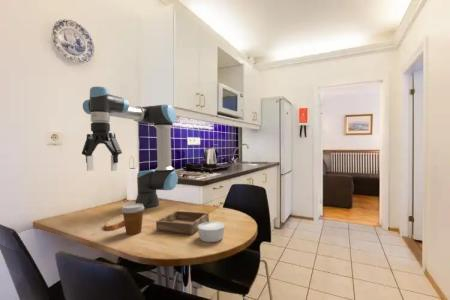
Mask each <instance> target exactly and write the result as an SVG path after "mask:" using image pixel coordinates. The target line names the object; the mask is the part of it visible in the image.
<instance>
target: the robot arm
mask: <svg viewBox="0 0 450 300" xmlns="http://www.w3.org/2000/svg"><path fill="white" fill-rule="evenodd" d="M82 109H83V111H84V113H86V114H87V115H90V122H91V123H90V131H91V132H92V134H91V133H87V134H86V140H85V141H84V142H85V143H84V145H83V148H82V151H81V155H83V156H85V163H86V172H87V171H88V172H89V171H94V156H93V153H94V151H95V150H96V148H97V147H98V145H100V144H103V145H104V146H105V147H106V148H107V149H108V152H110V154H111V155H110V171H111V172H113V171H118V162H119V155H121V154H122V153H123V152H122V149H121V146H120V144H119V143H118V140H117V138H116V133H115V132H110V131H111V124H110V122H111V121H110V117H115V118H121V119H128V120H133V121H135V122H137V123H143V124H147V125H148V124H149V125H153V127H154V128H155V130H156V154H157V155H156V156H157V157H156V159H157V167H156V168H155V169H148V170H140V171H138V172H137V177H136V183H137V185H136V186H137V194H136V199H135V203H134V204H143V206H144V209H148V208H149V209H150V208H154V207H157V206H160V199H159V197H158V194H157V191H166V192H167V191H172V190H174V189H175V188H176V186H177V185H178V181H179V176H178V173H177V172H176V171H175V168H174V167H173V166H172V146H171V145H172V141H171V140H172V139H171V138H172V137H171V129H172V128H173V127H174V123H176V121H177V113H176V110H175V109H174V107H173V106H172V105H170V104H159V105H158V104H157V105H148V106H139V105H137V106H132V105H130V103H129V100H128V99H126V98H124V97H122V96H117V95H113V94H110V91H109V88H107V87H104V86H91V87H90V88H89V99H86V100H84V101H83V102H82Z"/></svg>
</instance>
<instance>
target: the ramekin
mask: <svg viewBox="0 0 450 300" xmlns="http://www.w3.org/2000/svg"><path fill="white" fill-rule="evenodd" d="M225 228H226V227H225V223H223V222H220V221H209V222H205V223H201V224H199V225H198V231H197V232H198V236H199V239H200V240H201V241H202V242H205V243H216V242H219V241H221V240H222V239H223V238H224V233H225Z"/></svg>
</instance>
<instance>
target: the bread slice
mask: <svg viewBox="0 0 450 300" xmlns="http://www.w3.org/2000/svg"><path fill="white" fill-rule="evenodd" d="M124 227H125V223H124V217H123V213H122V214H120V215H118V216H115V217H112V218H111V219H108V221H107V222H105V224H104V226H103V230H104V231H107V232H113V231H116V230H119V229H121V228H124Z"/></svg>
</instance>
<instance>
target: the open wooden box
mask: <svg viewBox="0 0 450 300" xmlns="http://www.w3.org/2000/svg"><path fill="white" fill-rule="evenodd" d="M209 213H210V212H200V211H199V212H197V211H183V210H182V211H181V210H175V211H174V212H171V213H170V214H168V215H165V216H164V217H162V218H159V219H158V220H156V221H155V222H156V223H155V227H156V228H155V229H156V230H155V231H156V232H159V233H160V232H161V233H170V234H181V235H187V236H188V235H191V236H193V235H195V234H196V233H197V232H199V231H198V225H199V224H201V223H205V222H210V215H209Z"/></svg>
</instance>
